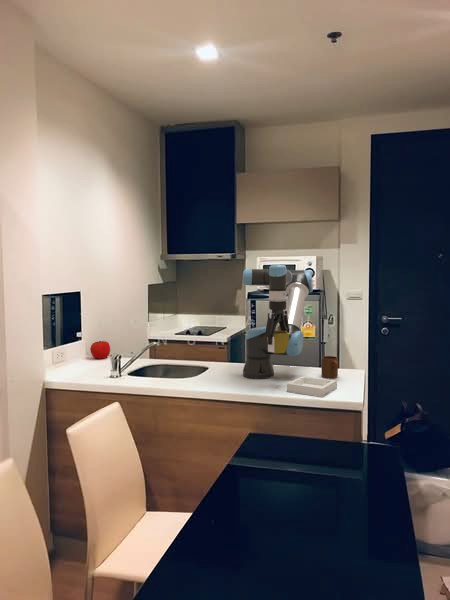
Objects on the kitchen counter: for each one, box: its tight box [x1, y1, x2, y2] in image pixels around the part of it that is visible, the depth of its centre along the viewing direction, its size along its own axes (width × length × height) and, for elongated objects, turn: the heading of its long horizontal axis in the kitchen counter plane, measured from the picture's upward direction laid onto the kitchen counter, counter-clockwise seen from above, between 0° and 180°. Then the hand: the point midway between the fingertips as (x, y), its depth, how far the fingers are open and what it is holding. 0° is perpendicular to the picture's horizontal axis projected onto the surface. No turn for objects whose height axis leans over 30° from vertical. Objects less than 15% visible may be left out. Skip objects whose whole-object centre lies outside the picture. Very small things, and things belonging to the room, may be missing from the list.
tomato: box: [89, 340, 111, 360], centre depth 289 cm, size 11×13×10 cm
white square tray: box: [286, 375, 338, 398], centre depth 216 cm, size 16×16×4 cm
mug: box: [321, 355, 339, 380], centre depth 237 cm, size 12×8×9 cm, turn 13°
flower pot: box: [267, 331, 289, 353], centre depth 222 cm, size 9×9×9 cm
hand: (277, 349), depth 222 cm, fingers closed on flower pot, 11 cm apart
